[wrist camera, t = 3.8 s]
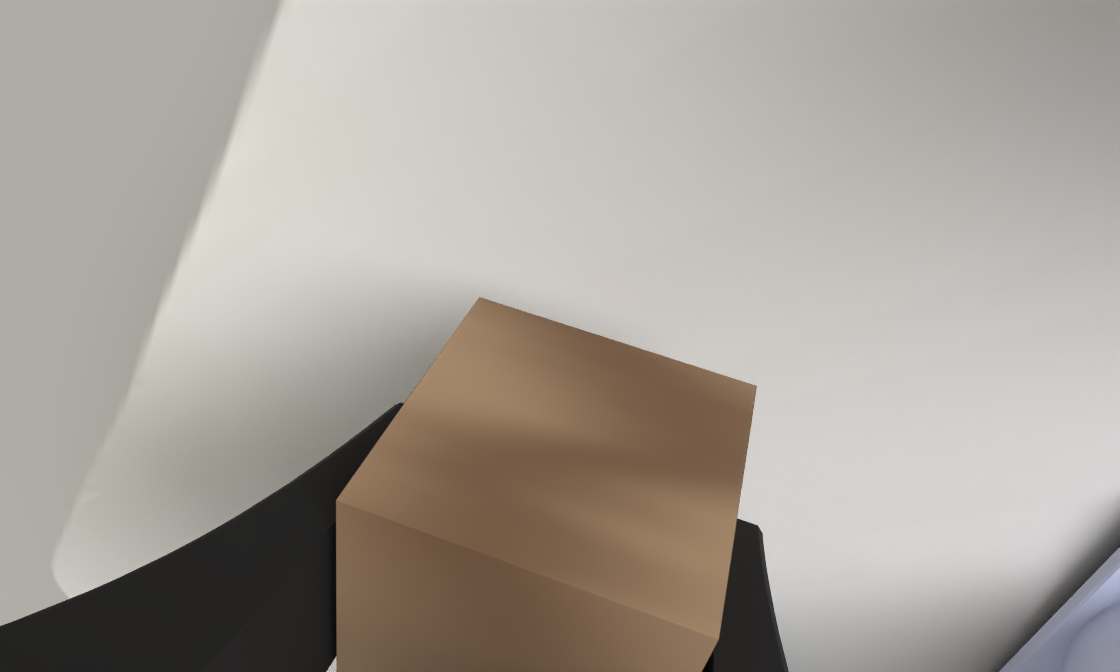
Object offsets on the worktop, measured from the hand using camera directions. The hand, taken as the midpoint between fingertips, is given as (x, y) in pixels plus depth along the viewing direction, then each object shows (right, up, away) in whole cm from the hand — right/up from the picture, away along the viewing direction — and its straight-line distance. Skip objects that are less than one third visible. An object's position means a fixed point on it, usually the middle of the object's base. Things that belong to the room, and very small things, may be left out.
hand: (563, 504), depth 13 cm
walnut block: (0, +1, +1) cm, 2 cm away
